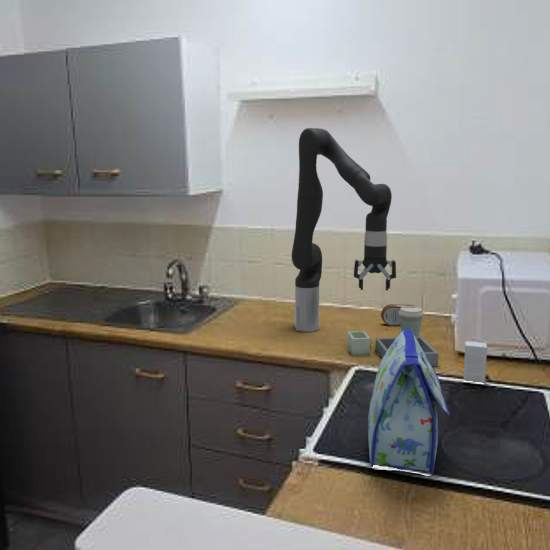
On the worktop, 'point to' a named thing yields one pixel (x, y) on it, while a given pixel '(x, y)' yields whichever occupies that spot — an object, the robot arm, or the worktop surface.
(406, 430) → the lunch bag
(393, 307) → the tin
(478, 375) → the skincare box
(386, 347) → the large crate
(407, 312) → the coffee cup
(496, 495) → the worktop surface
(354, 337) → the small crate
